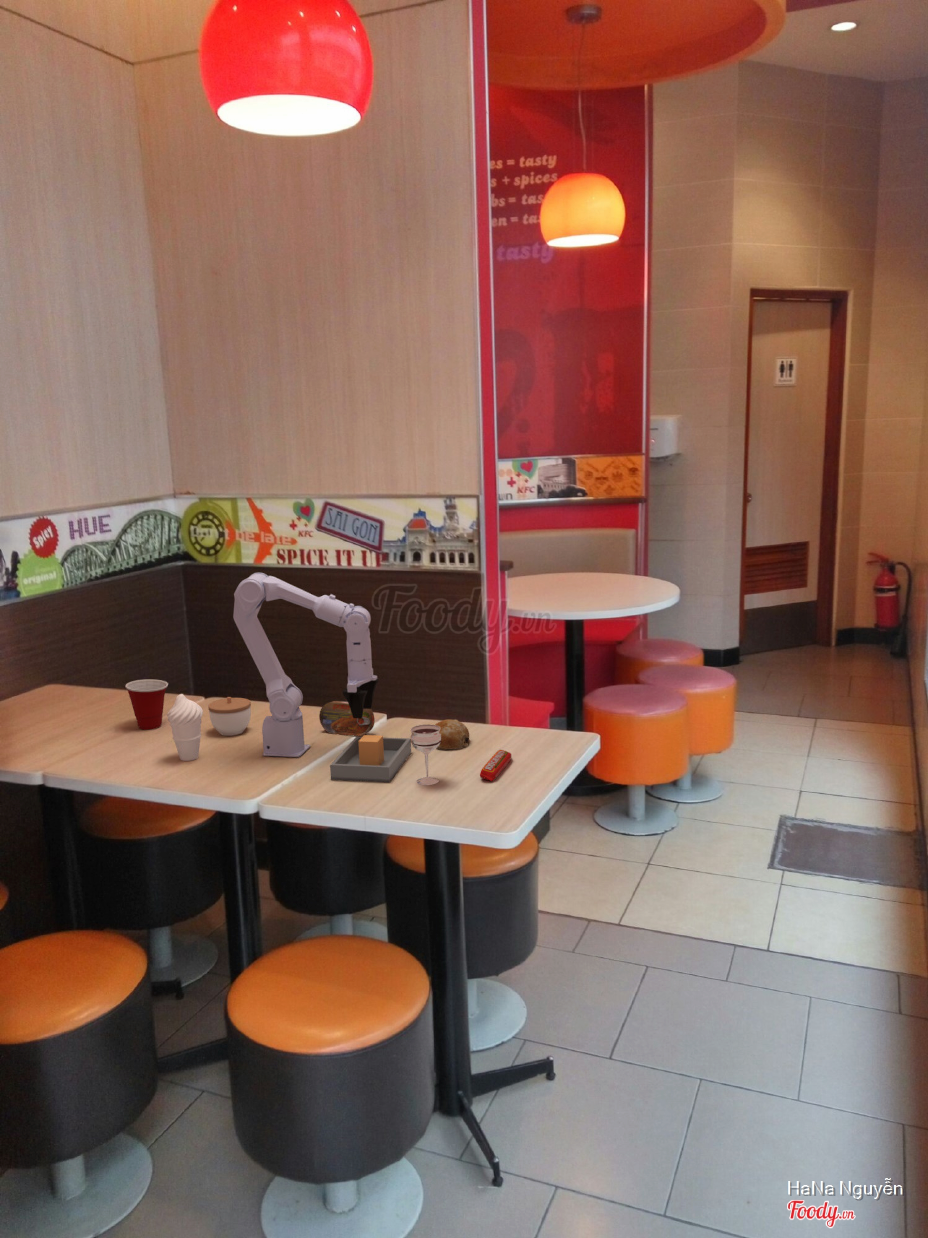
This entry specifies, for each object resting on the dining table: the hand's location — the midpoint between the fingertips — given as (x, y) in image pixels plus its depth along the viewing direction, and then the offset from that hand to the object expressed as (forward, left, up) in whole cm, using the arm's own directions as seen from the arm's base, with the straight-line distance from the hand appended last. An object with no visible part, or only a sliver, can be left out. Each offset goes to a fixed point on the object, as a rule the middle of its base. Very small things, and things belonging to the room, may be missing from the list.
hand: (362, 713), depth 235 cm
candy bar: (+34, -10, -10) cm, 37 cm away
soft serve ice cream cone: (-41, -10, -10) cm, 43 cm away
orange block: (+5, -10, -9) cm, 14 cm away
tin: (-8, +12, -10) cm, 17 cm away
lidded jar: (-39, +10, -10) cm, 41 cm away
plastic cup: (-63, +12, -10) cm, 65 cm away
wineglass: (+20, -18, -10) cm, 29 cm away
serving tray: (+5, -10, -9) cm, 15 cm away
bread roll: (+19, +7, -10) cm, 23 cm away
